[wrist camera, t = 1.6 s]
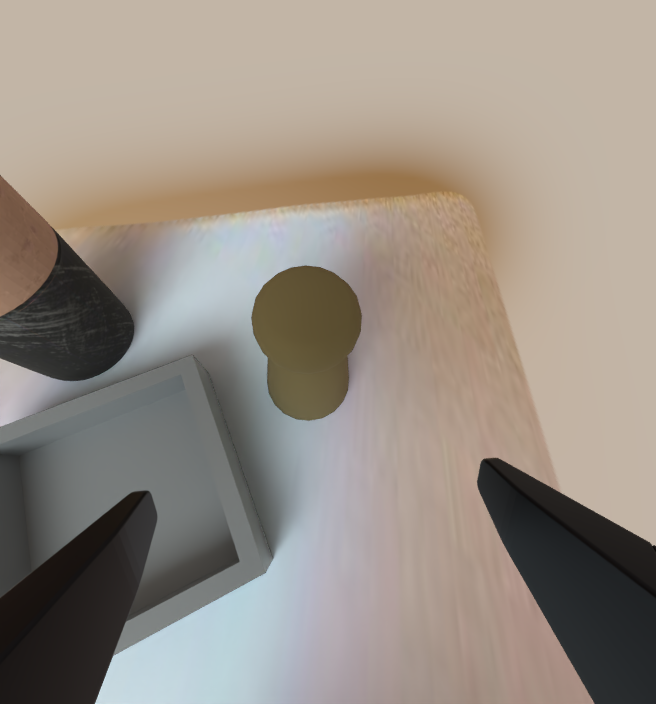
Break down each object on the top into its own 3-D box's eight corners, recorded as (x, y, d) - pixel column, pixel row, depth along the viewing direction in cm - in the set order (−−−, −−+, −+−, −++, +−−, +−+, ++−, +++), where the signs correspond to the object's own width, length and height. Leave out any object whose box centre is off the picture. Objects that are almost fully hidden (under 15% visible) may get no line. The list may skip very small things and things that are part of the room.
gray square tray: (273, 559, 20) (265, 572, 16) (37, 685, 17) (-28, 731, 14) (208, 372, 24) (192, 354, 21) (13, 449, 21) (-41, 442, 18)
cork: (361, 403, 24) (399, 338, 13) (281, 433, 22) (258, 386, 12) (331, 333, 26) (345, 231, 16) (257, 357, 25) (220, 264, 14)
